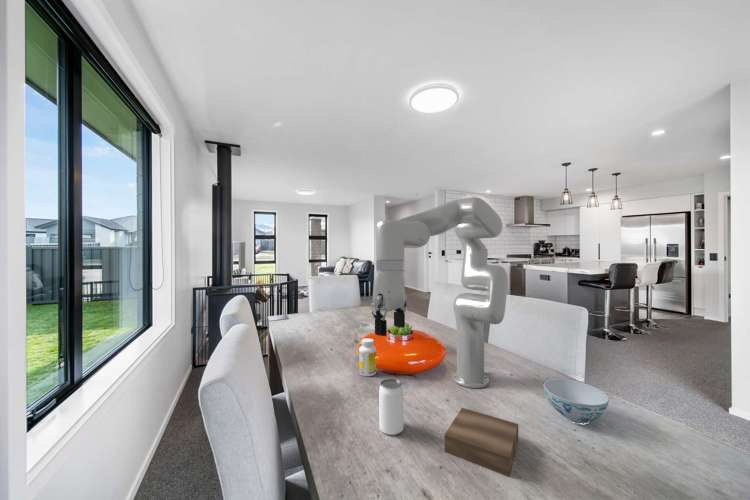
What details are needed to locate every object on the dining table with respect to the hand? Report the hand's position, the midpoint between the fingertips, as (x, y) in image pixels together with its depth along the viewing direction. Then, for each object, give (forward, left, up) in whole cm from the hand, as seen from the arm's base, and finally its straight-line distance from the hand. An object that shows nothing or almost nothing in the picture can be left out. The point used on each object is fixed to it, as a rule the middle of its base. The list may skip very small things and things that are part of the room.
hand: (390, 330), depth 77 cm
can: (0, 0, -26) cm, 26 cm away
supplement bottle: (-25, -25, -26) cm, 44 cm away
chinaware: (-32, +41, -26) cm, 58 cm away
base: (-6, +22, -26) cm, 35 cm away
